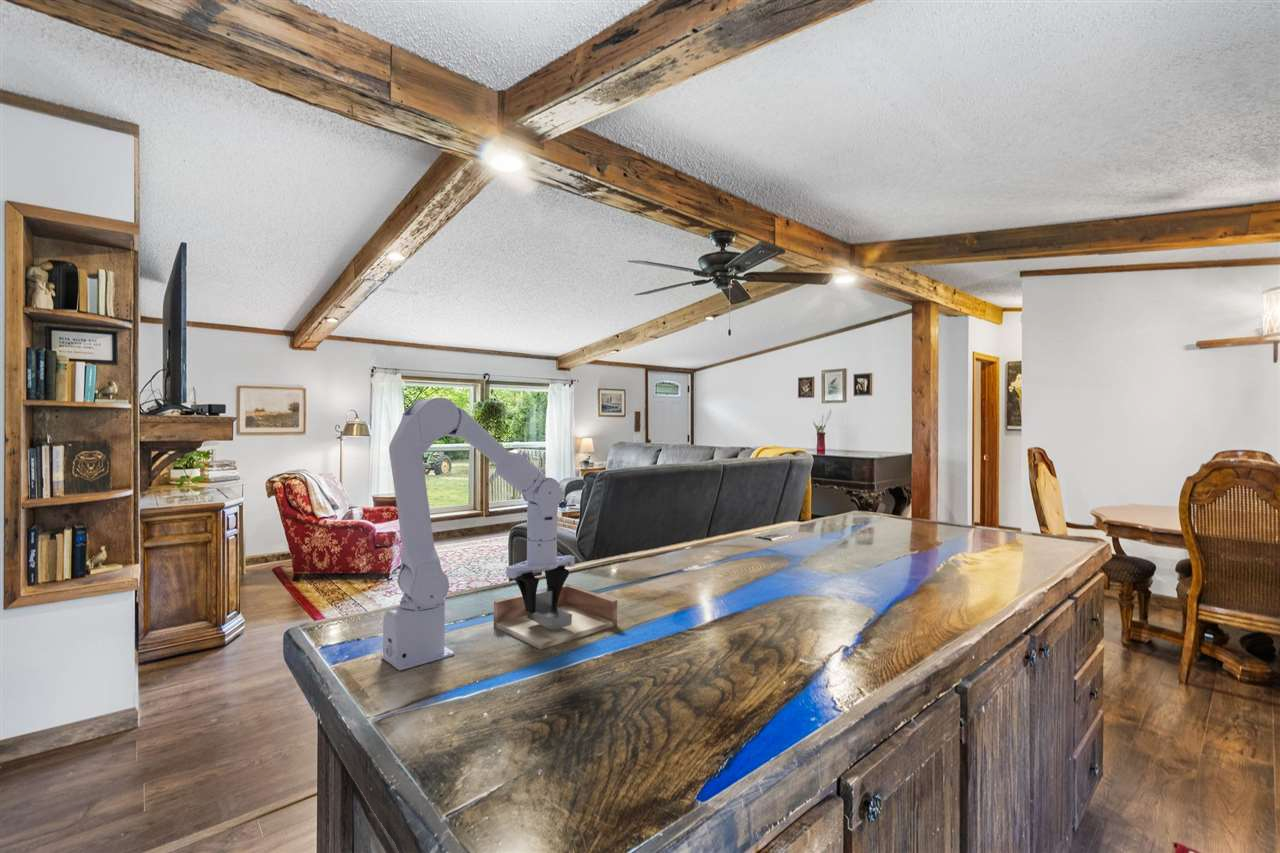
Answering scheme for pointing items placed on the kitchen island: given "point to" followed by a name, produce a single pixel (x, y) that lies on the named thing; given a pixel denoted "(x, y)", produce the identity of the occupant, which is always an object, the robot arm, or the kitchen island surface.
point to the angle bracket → (549, 611)
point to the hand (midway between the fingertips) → (541, 608)
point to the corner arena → (583, 605)
